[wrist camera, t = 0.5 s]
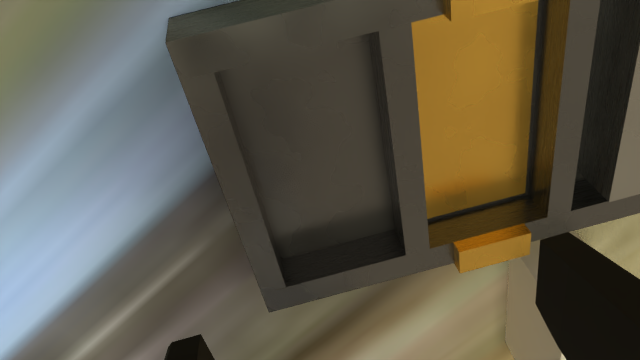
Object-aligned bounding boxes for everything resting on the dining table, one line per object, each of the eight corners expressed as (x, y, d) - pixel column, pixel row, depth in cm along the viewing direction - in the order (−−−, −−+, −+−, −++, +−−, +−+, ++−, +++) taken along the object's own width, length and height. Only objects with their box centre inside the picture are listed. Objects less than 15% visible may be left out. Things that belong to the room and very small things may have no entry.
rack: (668, 169, 24) (716, 208, 22) (264, 277, 24) (271, 328, 21) (750, -127, 17) (832, -115, 15) (168, 17, 16) (163, 52, 14)
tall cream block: (554, 326, 30) (608, 407, 26) (504, 340, 30) (550, 423, 26) (568, 224, 25) (636, 304, 21) (508, 240, 25) (566, 324, 21)
